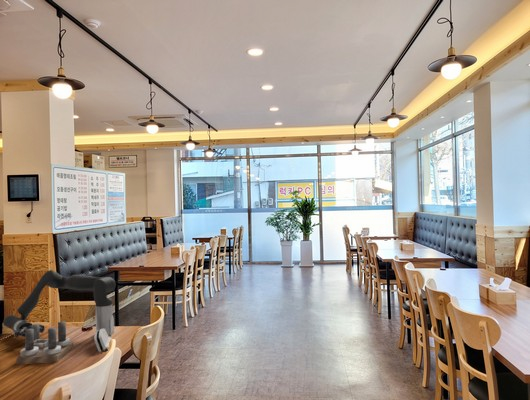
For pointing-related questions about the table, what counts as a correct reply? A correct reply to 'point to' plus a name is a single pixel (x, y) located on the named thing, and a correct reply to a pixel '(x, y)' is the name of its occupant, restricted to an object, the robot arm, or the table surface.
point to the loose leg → (36, 331)
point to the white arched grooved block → (102, 339)
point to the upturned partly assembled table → (45, 346)
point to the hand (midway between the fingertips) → (33, 333)
